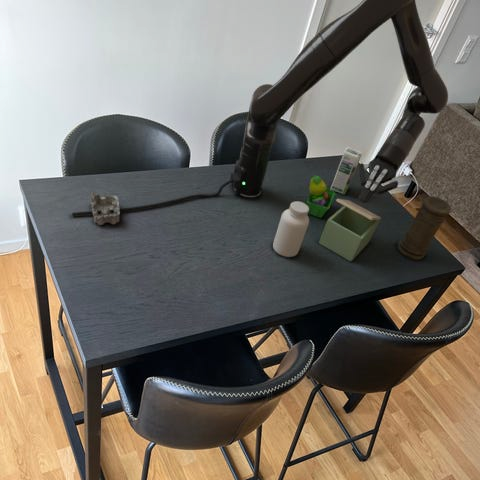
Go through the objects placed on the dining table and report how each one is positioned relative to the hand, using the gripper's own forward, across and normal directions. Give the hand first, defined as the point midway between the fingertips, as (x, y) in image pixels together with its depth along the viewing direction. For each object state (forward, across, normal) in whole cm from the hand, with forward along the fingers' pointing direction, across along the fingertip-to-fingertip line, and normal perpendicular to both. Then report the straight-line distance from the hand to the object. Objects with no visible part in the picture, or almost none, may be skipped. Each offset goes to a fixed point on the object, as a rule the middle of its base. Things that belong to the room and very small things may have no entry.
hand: (361, 201), depth 133 cm
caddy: (+10, 0, +12) cm, 16 cm away
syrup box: (-9, -16, +32) cm, 37 cm away
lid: (+2, 0, +4) cm, 4 cm away
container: (0, +18, +22) cm, 29 cm away
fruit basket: (+4, -16, +19) cm, 25 cm away
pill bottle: (+23, -12, 0) cm, 26 cm away
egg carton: (+43, -56, -20) cm, 73 cm away
